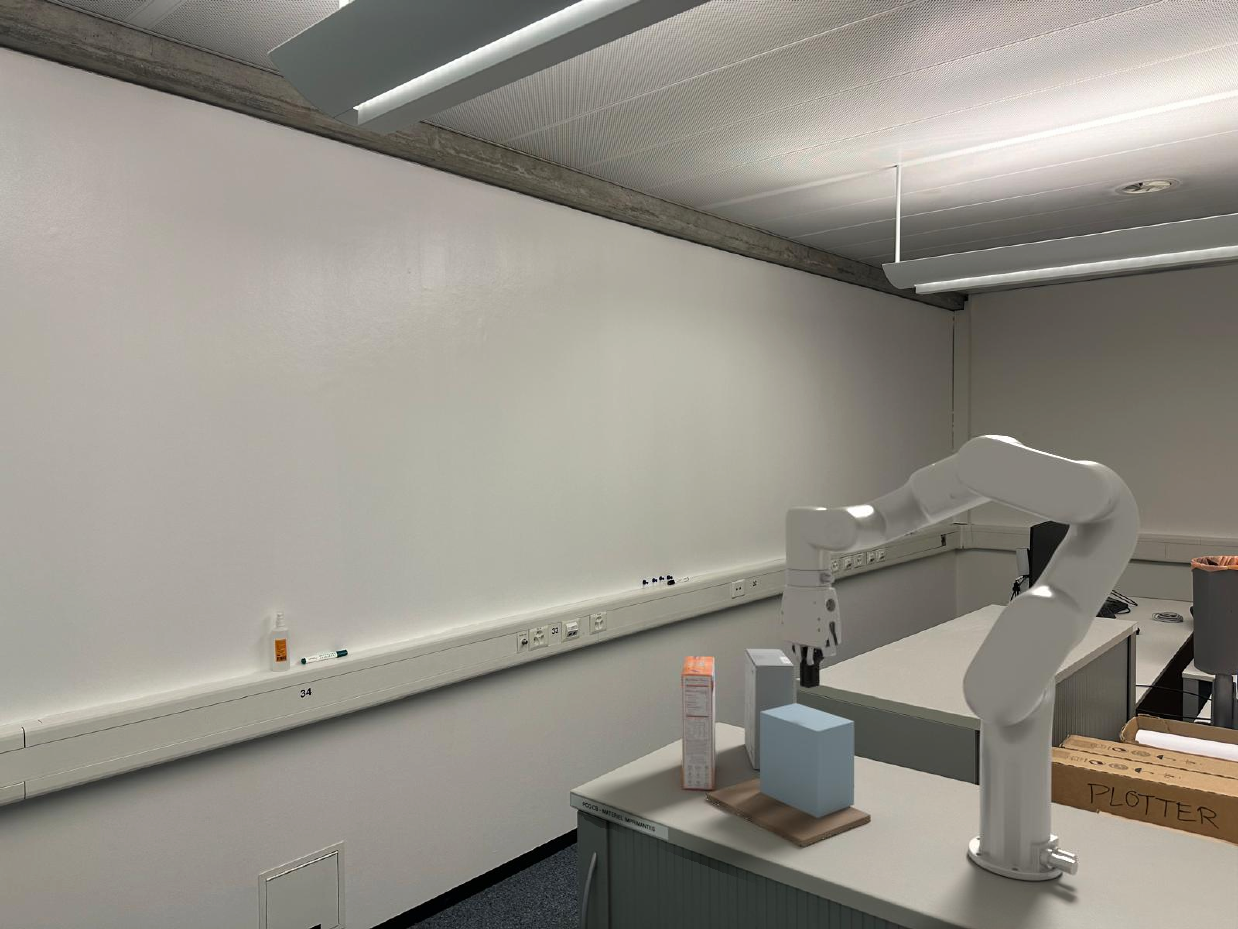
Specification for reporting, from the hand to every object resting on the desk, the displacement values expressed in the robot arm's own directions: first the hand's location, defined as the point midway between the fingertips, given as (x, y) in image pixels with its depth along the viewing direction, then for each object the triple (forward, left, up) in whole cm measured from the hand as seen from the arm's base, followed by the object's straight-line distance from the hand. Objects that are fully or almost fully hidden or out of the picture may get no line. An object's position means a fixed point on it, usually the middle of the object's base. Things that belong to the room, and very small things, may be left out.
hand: (809, 686), depth 145 cm
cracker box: (+20, +7, -20) cm, 30 cm away
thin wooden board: (0, +5, -20) cm, 21 cm away
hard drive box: (+20, -11, -20) cm, 31 cm away
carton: (0, -4, -12) cm, 13 cm away
